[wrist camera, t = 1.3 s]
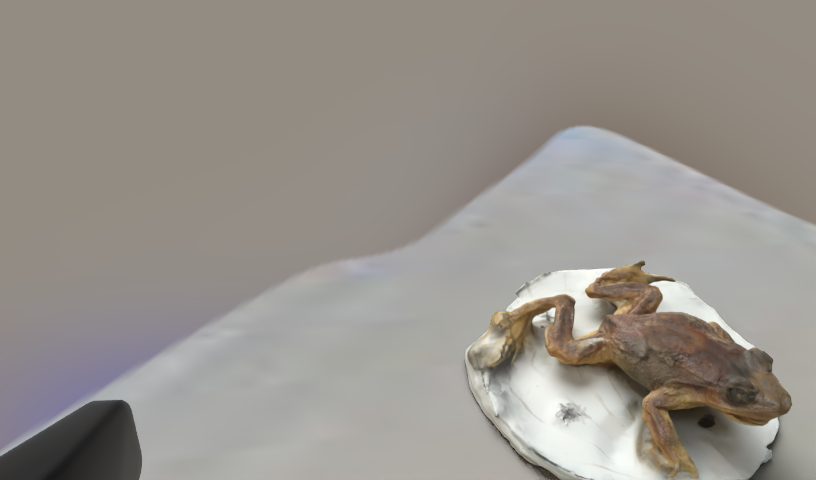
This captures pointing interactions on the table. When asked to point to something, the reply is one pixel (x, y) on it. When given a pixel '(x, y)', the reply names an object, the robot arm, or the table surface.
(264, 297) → the table surface
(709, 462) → the frog figurine
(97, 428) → the robot arm
